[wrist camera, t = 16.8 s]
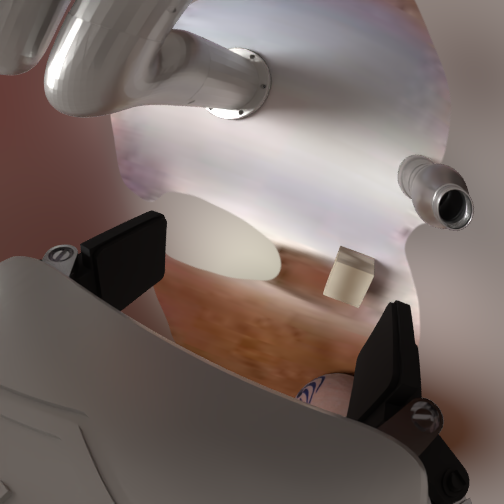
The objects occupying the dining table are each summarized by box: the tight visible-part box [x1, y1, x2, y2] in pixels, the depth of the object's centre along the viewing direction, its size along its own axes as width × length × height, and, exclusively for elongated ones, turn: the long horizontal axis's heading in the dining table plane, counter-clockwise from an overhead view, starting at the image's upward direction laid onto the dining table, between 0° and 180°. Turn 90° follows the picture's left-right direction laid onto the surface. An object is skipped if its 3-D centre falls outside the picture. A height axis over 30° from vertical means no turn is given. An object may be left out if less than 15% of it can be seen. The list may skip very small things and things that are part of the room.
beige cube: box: [323, 246, 374, 308], centre depth 42 cm, size 6×6×6 cm
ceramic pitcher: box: [295, 373, 354, 417], centre depth 46 cm, size 18×21×25 cm
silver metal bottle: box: [398, 155, 474, 231], centre depth 26 cm, size 6×7×20 cm
